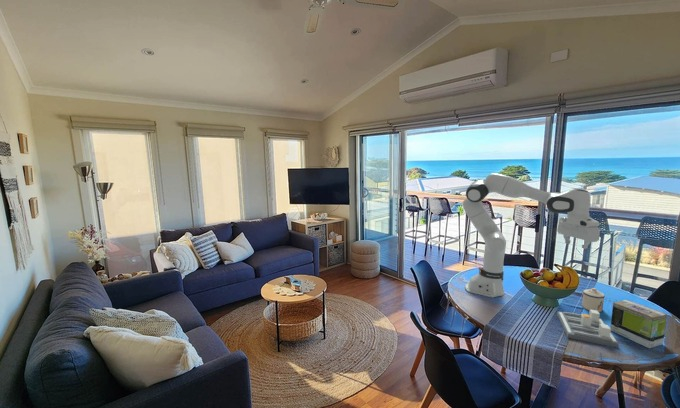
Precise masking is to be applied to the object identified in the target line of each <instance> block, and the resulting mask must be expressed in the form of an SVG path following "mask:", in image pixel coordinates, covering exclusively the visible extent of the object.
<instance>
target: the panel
mask: <svg viewBox="0 0 680 408" xmlns="http://www.w3.org/2000/svg"><path fill="white" fill-rule="evenodd" d="M556 313H557V315H556V316H557V317H558V319H559V322H560V324H561V327H562V329H563V331H564V333H565V335H566V337H567V338H568V339H572V340H573V339H574V340H577V341H583V342H588V343H593V344H598V345H604V346H607V347H613V348H619V342H618V341H617V339H616V338H615V336H614V335H613V334H612V331H611V329H610V327H611V326H609V325H608V324H606V323H605V322H604V321H603V319H602V318H600V315H601V313H600V312H598V311H597V310H591V309H590V311H589V314H588V315H589V316H590V317H591V327H588V326H582V325H581V324H580V321H581V314H582V313H581V314H579V313H575V312H569V311H568V312H567V311H559V310H558V311H557V312H556Z"/></svg>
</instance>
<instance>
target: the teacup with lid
mask: <svg viewBox="0 0 680 408" xmlns="http://www.w3.org/2000/svg"><path fill="white" fill-rule="evenodd" d="M605 297H606V296H605V294H604V293H603V292H601V291H599V290H598V289H597V288H595V287H591V288H589V289H584V290H582V300H581V301H582V302H581V307H582V308H583V309H584V310H586V311H589V312H590V309H591V310H597V311H598V312H599V313H602V311H603V308H604V302H605V301H604V300H605Z"/></svg>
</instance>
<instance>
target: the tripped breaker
mask: <svg viewBox="0 0 680 408" xmlns="http://www.w3.org/2000/svg"><path fill="white" fill-rule="evenodd" d="M580 324H581V325H582V326H588V327H591V317H590V316H589V314H588V313H581V321H580Z"/></svg>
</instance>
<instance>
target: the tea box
mask: <svg viewBox="0 0 680 408" xmlns="http://www.w3.org/2000/svg"><path fill="white" fill-rule="evenodd" d="M667 319H668V313H665V312H663V311H659V310H657V309H654V308H651V307H648V306H646V305H642V304H640V303H637V302H634V301H631V300H628V299H623V300H620V301H615V302H613V303H612V311H611V317H610V326H609V327H610V329H611V331H610V332H613V333H615V334H617V335H619V336H622V337H624V338H626V339H628V340H631V341H633V342H635V343H636V344H638V345H640V346H643V347H644V348H647V349H652V348H656V347H659V346H662V345H663V344H664V341H665V340H664V339H665V333H666V326H667V322H668V321H667Z"/></svg>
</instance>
